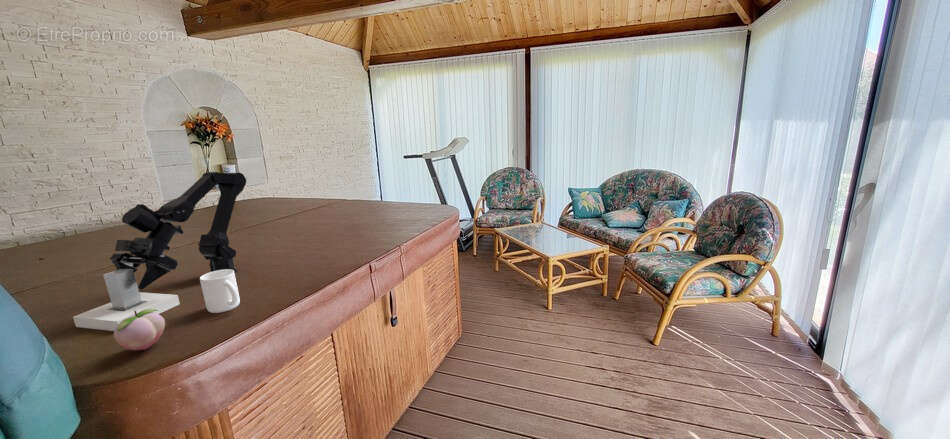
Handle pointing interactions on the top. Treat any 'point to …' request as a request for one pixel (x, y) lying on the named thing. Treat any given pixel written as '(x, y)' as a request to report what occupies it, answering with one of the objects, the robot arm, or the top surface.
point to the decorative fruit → (139, 330)
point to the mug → (220, 290)
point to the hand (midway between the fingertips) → (127, 288)
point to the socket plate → (110, 319)
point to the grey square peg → (122, 289)
